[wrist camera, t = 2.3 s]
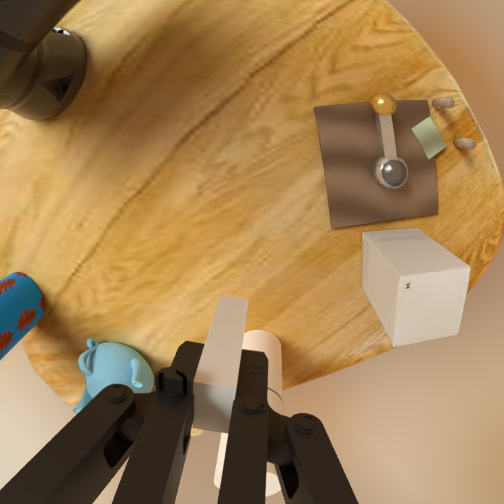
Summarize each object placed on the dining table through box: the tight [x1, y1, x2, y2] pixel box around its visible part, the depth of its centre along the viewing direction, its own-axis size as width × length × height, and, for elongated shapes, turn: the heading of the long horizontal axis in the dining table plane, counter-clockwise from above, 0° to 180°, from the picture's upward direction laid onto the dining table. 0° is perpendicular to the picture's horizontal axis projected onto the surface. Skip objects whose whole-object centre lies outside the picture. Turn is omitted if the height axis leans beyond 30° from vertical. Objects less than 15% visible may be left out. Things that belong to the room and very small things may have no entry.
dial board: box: [314, 97, 475, 229], centre depth 37 cm, size 16×21×4 cm
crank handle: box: [368, 94, 408, 189], centre depth 35 cm, size 12×4×4 cm, turn 10°
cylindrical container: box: [214, 330, 283, 496], centre depth 39 cm, size 7×7×25 cm
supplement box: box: [362, 228, 471, 347], centre depth 37 cm, size 9×9×15 cm
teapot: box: [73, 338, 154, 413], centre depth 49 cm, size 15×15×10 cm
